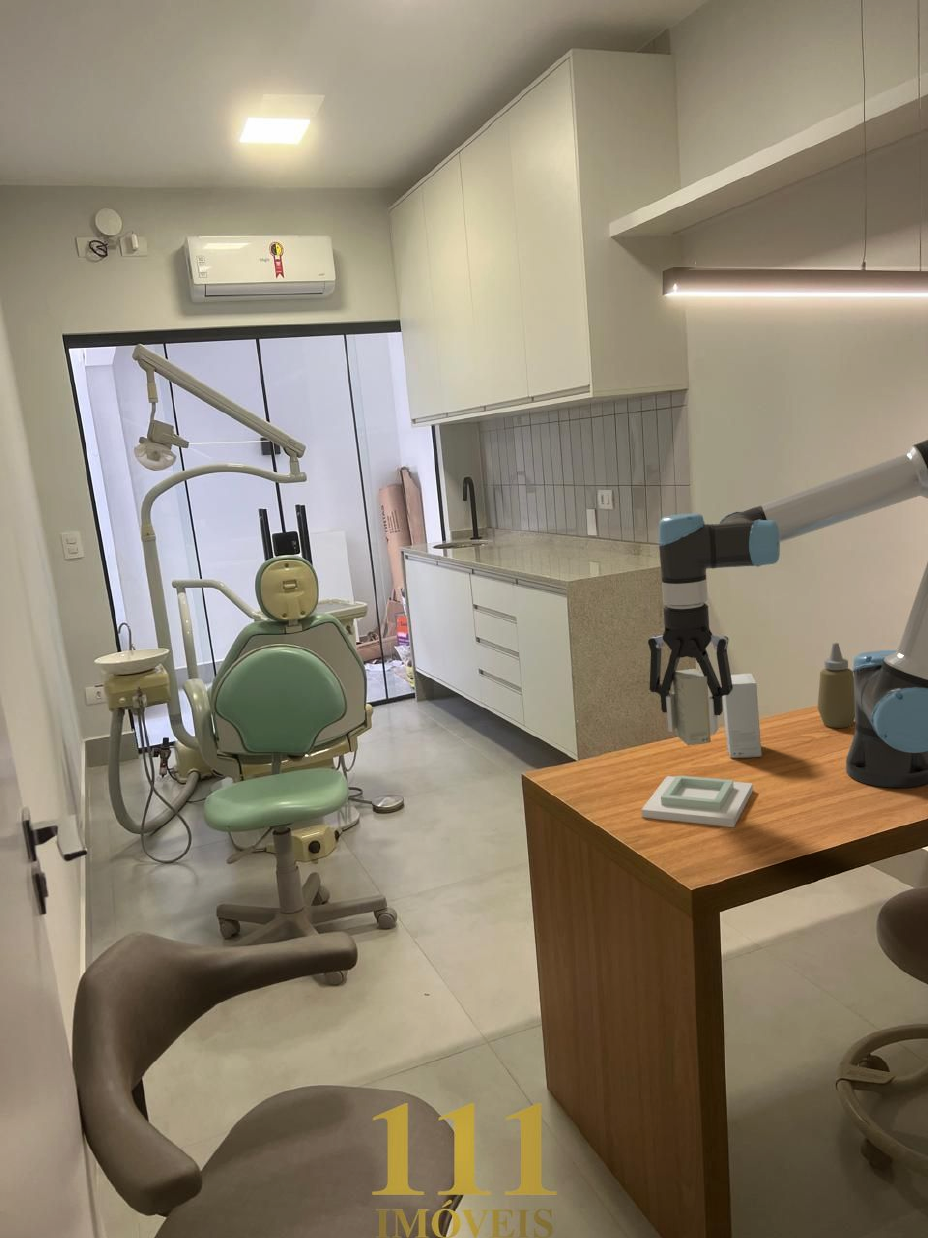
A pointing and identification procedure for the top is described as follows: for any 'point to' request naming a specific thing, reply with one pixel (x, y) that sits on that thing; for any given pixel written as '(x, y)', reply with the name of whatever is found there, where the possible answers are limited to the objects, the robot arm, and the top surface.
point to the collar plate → (698, 800)
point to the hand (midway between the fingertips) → (693, 730)
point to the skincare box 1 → (691, 706)
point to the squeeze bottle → (836, 691)
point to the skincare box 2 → (742, 718)
